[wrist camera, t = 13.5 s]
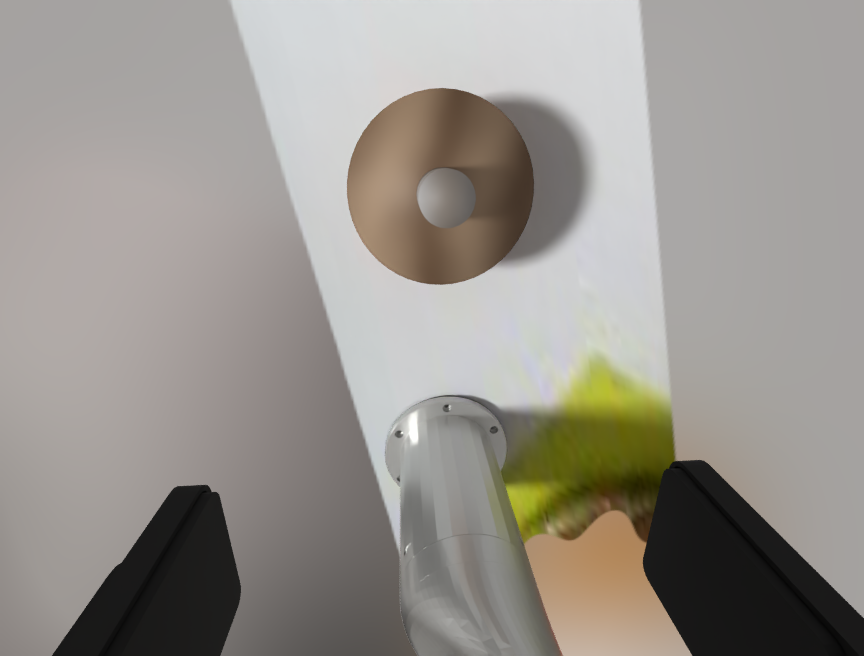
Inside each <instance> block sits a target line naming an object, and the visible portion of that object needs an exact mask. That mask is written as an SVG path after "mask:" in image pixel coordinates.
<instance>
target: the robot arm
mask: <svg viewBox="0 0 864 656" xmlns="http://www.w3.org/2000/svg"><path fill="white" fill-rule="evenodd" d="M447 404H448V405H447ZM399 430H400V431H399ZM506 455H507V441H506V437H505V433H504V431H503V428H502V426H501V424H500V422H499V421H498V419H497V418H496V417H495V415H494V414H493V413H492V412H490V411H489V410H488V409H487V408H486V407H484V406H482V405H481V404H479V403H477V402H474V401H472V400H469V399H465V398H460V397H438V398H432V399H429V400H426V401H423V402H420V403H418V404H416V405H415V406H413V407H411V408H409V409H408V410H407V411H406V412H404V413H403V414H402V415H401V416H400V417H399V418H398V419H397V420H396V422H395V423H394V424H393V426H392V428H391V429H390V431H389V433H388V437H387V440H386V447H385V462H386V465H387V469H388V472H389V473H390V475H391V477H392V479H393V480H394V481H395V482H396V483H397V485H398V486H399V487H400V609H401V616H402V620H403V625H404V628H405V631H406V634H407V636H408V639H409V641H410V643H411V645H412V647H413V648H414V650H415V652H416V653H417V655H418V656H563V655H562V652H561V650H560V648H559V645H558V643H557V640H556V637H555V635H554V632H553V630H552V627H551V624H550V622H549V619H548V616H547V614H546V611H545V608H544V605H543V602H542V599H541V596H540V593H539V590H538V587H537V584H536V581H535V578H534V575H533V572H532V568H531V565H530V562H529V559H528V556H527V553H526V550H525V546H524V543H523V540H522V537H521V534H520V531H519V528H518V524H517V521H516V518H515V515H514V512H513V509H512V506H511V502H510V499H509V496H508V493H507V490H506V487H505V484H504V480H503V477H502V474H501V470H502V468H503V466H504V463H505V461H506ZM643 567H644V572H645V574H646V577H647V579H648V581H649V582H650V584H651V586H652V587H653V589H654V591H655V592H656V594H657V596H658V598H659V599H660V601H661V603H662V604H663V606H664V608H665V609H666V611H667V613H668V615H669V616H670V618H671V620H672V622H673V623H674V625H675V626H676V628H677V630H678V632H679V634H680V635H681V637H682V639H683V640H684V642H685V644H686V646H687V647H688V649H689V650H690V652H691V654H692V656H864V618H863V617H862V616H861V615H860V614H859V613H857V611H856V610H854V608H853V607H852V606H851V605H850V604H849V603H848V602H847V601H845V599H844V598H843V597H842V596H841V595H840V594H839V593H837V591H836V590H834V588H833V587H831V585H829V583H828V582H826V580H825V579H824V578H823V577H821V576H820V574H819V573H818V572H816V570H815V569H813V567H811V566H810V565H809V564H808V563H807V562H806V561H805V560H804V559H803V558H802V557H801V556H800V555H799V554H798V553H797V552H796V551H795V550H794V549H793V548H792V547H791V546H790V545H789V544H788V543H787V542H786V541H785V540H784V539H783V538H782V537H781V536H780V535H779V534H778V533H777V532H776V531H775V530H774V529H773V528H772V527H771V526H770V525H769V524H768V523H767V522H766V521H765V520H764V519H763V518H762V517H761V516H760V515H759V514H758V513H757V512H756V511H755V510H754V509H753V508H752V507H751V506H750V505H749V504H748V503H747V502H746V501H745V500H744V499H743V498H742V497H741V496H740V495H739V494H738V493H737V492H736V491H735V490H734V489H733V488H732V487H731V486H730V485H729V484H728V483H727V482H726V481H725V480H724V479H723V478H722V477H721V476H720V475H719V474H718V473H717V472H716V471H715V470H714V469H713V468H712V467H711V466H710V465H709V464H708V463H706V462H705V461H702V460H691V461H675V462H673V463H672V464H671V465H670V467H669V469H666V470H665V471H664V473H663V476H662V480H661V484H660V489H659V493H658V497H657V502H656V506H655V510H654V514H653V519H652V523H651V527H650V531H649V536H648V540H647V544H646V549H645V553H644V557H643ZM240 593H241V585H240V580H239V576H238V572H237V568H236V563H235V559H234V555H233V551H232V547H231V542H230V539H229V534H228V530H227V525H226V521H225V517H224V513H223V508H222V504H221V500H220V496H219V494H218V493H217V492H211V489H210V488H209V486H208V485H196V486H177V487H175V488H174V489H173V490H172V491H171V493H170V494H169V495H168V497H167V498H166V500H165V501H164V502H163V504H162V505H161V507H160V508H159V510H158V511H157V512H156V514H155V515H154V517H153V518H152V520H151V521H150V523H149V524H148V525H147V527H146V528H145V530H144V531H143V533H142V534H141V536H140V537H139V539H138V540H137V542H136V543H135V544H134V546H133V547H132V549H131V550H130V551H129V553H128V554H127V556H126V558H125V559H124V560H123V562H122V563H120V564H119V565H117V566H116V567H115V568H114V569H113V570H112V572H111V573H110V574H109V575H108V577H107V578H106V579H105V581H104V582H103V584H102V585H101V587H100V588H99V589H98V591H97V592H96V594H95V595H94V597H93V598H92V599H91V601H90V602H89V604H88V605H87V606H86V608H85V609H84V611H83V612H82V614H81V615H80V616H79V618H78V619H77V621H76V622H75V624H74V625H73V626H72V628H71V629H70V631H69V632H68V634H67V635H66V636H65V638H64V639H63V641H62V642H61V644H60V645H59V646H58V648H57V649H56V651H55V652H54V653H53V655H52V656H220V655H221V652H222V649H223V646H224V644H225V641H226V638H227V635H228V633H229V630H230V627H231V624H232V622H233V619H234V616H235V613H236V611H237V608H238V605H239V600H240Z"/></svg>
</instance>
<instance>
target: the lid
mask: <svg viewBox="0 0 864 656" xmlns="http://www.w3.org/2000/svg"><path fill="white" fill-rule="evenodd" d="M533 193H534V179H533V169H532V164H531V160H530V156H529V153H528V150H527V148H526V145H525V143H524V141H523V139H522V137H521V135H520V133H519V132H518V130H517V129H516V127H515V126H514V125H513V123H512V122H511V121H510V120H509V119H508V118H507V116H506V115H505V114H504V113H503V112H502V111H500V110H499V109H498V108H497V107H495V106H494V105H493V104H491V103H490V102H488V101H486V100H484V99H483V98H481V97H479V96H476V95H474V94H471V93H469V92H465V91H461V90H456V89H446V88H438V89H427V90H422V91H418V92H414V93H412V94H409V95H407V96H404V97H402V98H400V99H398V100H397V101H395V102H393V103H391V104H390V105H389V106H387V107H386V108H385V109H383V110H382V111H381V112H380V113H379V114H378V115H377V116H376V117H375V118H374V119H373V120H372V121H371V122H370V124H369V125H368V126H367V128H366V129H365V130H364V132H363V133H362V135H361V137H360V139H359V141H358V142H357V144H356V147H355V149H354V152H353V154H352V158H351V162H350V166H349V170H348V179H347V197H348V204H349V210H350V213H351V217H352V221H353V223H354V226H355V228H356V231H357V233H358V234H359V236H360V238H361V240H362V242H363V243H364V244H365V246H366V247H367V248H368V250H369V251H370V252H371V253H372V254H373V256H374V257H375V258H376V259H377V260H378V261H380V262H381V263H382V264H383V265H384V266H386V267H387V268H388V269H390V270H392V271H393V272H395V273H396V274H398V275H401V276H403V277H405V278H407V279H410V280H413V281H417V282H421V283H426V284H440V285H442V284H453V283H458V282H462V281H466V280H468V279H471V278H474V277H476V276H478V275H480V274H482V273H484V272H486V271H487V270H489V269H490V268H492V267H493V266H495V265H496V264H497V263H498V262H499V261H501V260H502V259H503V258H504V257H505V256H506V255H507V254H508V253H509V251H510V250H511V249H512V248H513V246H514V245H515V244H516V242H517V241H518V239H519V237H520V236H521V234H522V232H523V230H524V228H525V225H526V223H527V220H528V218H529V214H530V210H531V207H532V200H533Z"/></svg>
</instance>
